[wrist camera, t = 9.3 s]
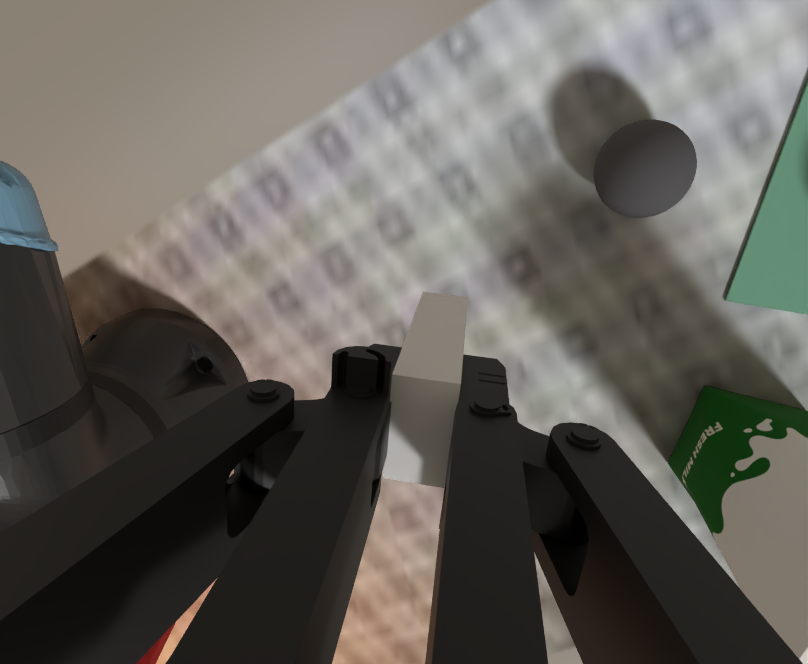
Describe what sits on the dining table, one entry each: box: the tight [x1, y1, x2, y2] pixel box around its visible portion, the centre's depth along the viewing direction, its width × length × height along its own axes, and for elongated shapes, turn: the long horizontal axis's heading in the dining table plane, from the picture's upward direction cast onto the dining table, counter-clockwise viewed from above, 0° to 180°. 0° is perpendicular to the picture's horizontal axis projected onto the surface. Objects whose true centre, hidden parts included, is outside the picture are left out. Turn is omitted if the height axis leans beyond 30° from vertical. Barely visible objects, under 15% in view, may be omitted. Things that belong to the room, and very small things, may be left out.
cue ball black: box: [594, 120, 697, 218], centre depth 31 cm, size 6×6×6 cm
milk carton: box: [668, 386, 808, 664], centre depth 29 cm, size 9×9×20 cm
